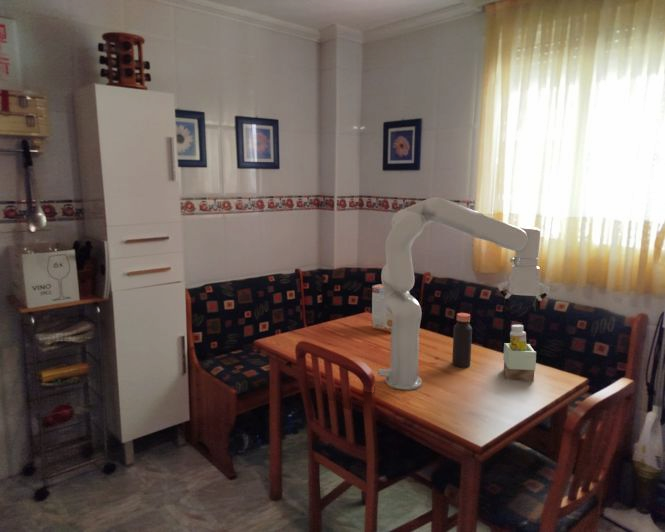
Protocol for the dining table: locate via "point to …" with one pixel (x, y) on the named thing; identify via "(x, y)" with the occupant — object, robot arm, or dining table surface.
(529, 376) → the block lower
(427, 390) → the dining table surface
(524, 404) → the dining table surface
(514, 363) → the small green shelf
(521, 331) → the supplement bottle
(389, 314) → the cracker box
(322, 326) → the dining table surface
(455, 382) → the dining table surface
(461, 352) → the vinegar
